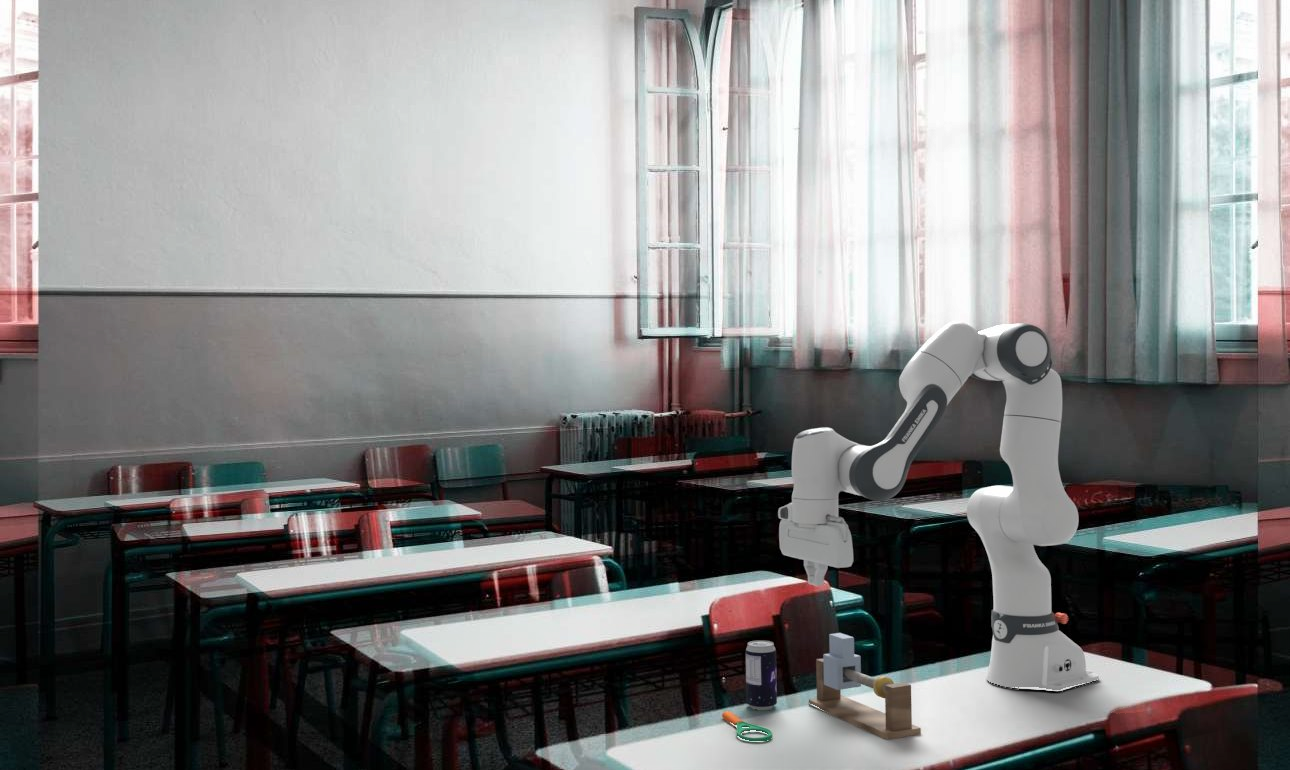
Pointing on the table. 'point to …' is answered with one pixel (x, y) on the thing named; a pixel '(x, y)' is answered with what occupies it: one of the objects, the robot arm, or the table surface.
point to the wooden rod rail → (867, 718)
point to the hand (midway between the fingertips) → (815, 585)
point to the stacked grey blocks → (840, 662)
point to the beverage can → (761, 675)
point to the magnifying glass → (736, 721)
